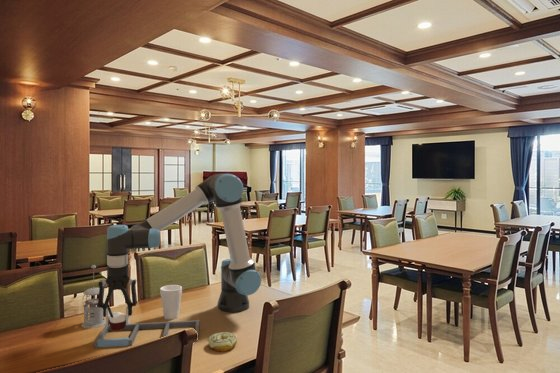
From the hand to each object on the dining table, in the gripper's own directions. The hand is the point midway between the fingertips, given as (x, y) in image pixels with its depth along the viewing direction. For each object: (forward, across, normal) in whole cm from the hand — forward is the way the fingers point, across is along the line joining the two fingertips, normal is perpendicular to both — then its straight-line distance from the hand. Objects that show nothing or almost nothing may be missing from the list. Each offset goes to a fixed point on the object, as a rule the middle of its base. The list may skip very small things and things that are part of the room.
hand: (117, 324), depth 155 cm
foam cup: (+5, -18, -20) cm, 28 cm away
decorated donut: (+6, -40, +13) cm, 43 cm away
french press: (+6, +14, -17) cm, 23 cm away
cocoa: (+2, 0, 0) cm, 2 cm away
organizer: (+5, -12, 0) cm, 13 cm away
